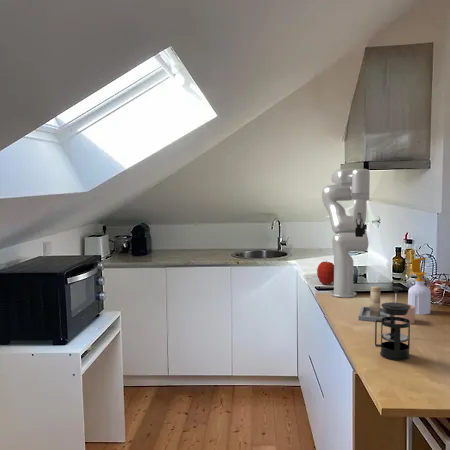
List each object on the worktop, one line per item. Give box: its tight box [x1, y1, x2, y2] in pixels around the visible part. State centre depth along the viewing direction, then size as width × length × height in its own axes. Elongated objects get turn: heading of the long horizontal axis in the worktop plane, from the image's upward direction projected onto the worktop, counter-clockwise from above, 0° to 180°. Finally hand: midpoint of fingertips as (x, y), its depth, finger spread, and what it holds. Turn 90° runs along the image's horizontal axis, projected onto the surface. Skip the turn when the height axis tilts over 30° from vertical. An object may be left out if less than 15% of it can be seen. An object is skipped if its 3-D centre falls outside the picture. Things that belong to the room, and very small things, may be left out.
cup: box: [396, 303, 416, 325], centre depth 196 cm, size 7×7×7 cm
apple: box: [316, 260, 334, 285], centre depth 270 cm, size 10×10×14 cm
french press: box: [374, 286, 411, 362], centre depth 160 cm, size 12×9×23 cm
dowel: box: [369, 286, 382, 317], centre depth 204 cm, size 4×4×12 cm
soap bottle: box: [407, 257, 432, 316], centre depth 209 cm, size 9×9×25 cm
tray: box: [357, 305, 391, 323], centre depth 204 cm, size 16×12×2 cm
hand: (360, 235), depth 216 cm, fingers open, 9 cm apart
